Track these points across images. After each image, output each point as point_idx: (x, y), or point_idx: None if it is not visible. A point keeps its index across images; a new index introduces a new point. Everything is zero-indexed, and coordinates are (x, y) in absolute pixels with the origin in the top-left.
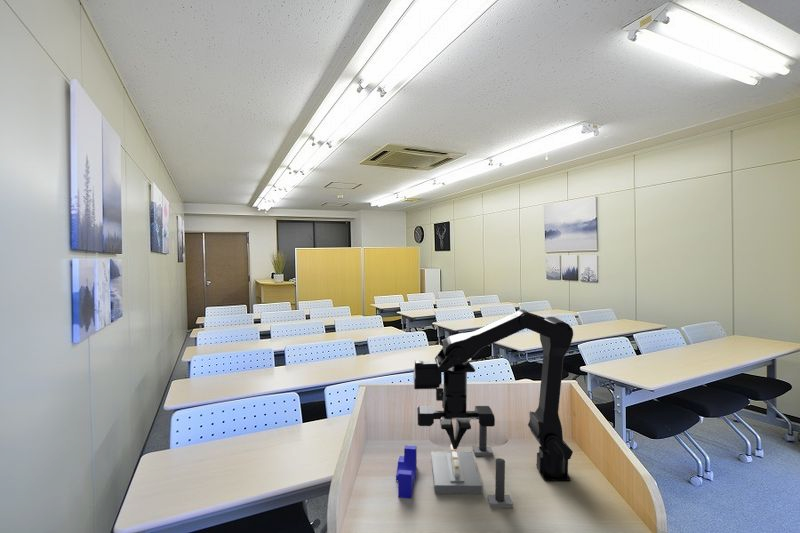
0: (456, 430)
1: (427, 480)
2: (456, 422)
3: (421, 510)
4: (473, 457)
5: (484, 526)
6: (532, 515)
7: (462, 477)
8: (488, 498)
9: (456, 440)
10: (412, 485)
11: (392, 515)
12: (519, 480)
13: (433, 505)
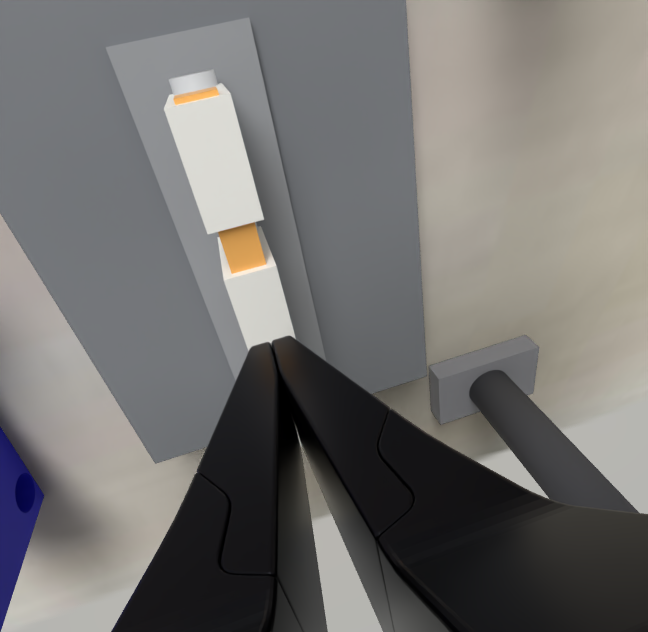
0: (368, 563)
1: (64, 345)
2: (426, 624)
3: (134, 525)
4: (407, 54)
5: None
6: (577, 389)
7: None
8: (438, 398)
9: (337, 524)
10: (3, 478)
11: (15, 588)
12: (633, 175)
13: (180, 485)
